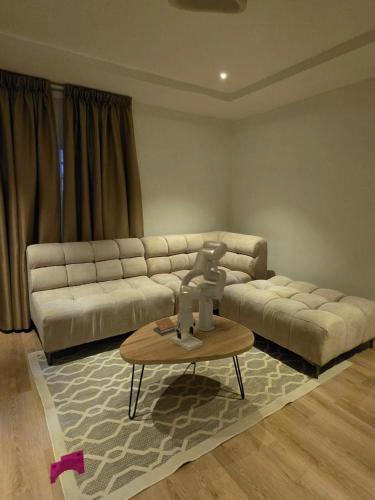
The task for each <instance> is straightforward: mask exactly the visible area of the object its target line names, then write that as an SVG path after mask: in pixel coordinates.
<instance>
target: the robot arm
mask: <svg viewBox="0 0 375 500" xmlns="http://www.w3.org/2000/svg"><path fill="white" fill-rule="evenodd" d="M227 252H228V245H227V243H226V242H224V241H223V242H222V241H212V240H206V241H204V242H203V244H202V248H199V249H198V251H197V253H196V257H195V260H194V262H193V266H192V269H190V271H189V272H188V273H186V275H185V276H184V277H183V278H182V280H181V284H180V287H179V297H178V298H179V299H178V300H179V302H178V303H179V311H178V313H177V318H176V324H174V325H175V326H174V329H175V331H174V332H175V333H177V338H179V339H181V331H183V330H185V329H188V328H189V330H188V331H189V333H188V334H189V335H191V336H193V335H194V329H195V328H196V329H197V330H199V331H201V332H211V331H213V330H215V328H216V327H215V324H216V323H218V320H217V319H214V318H213V315H214V313H213V312H214V309H213V308H214V304H213V300H221V299H222V297H223V295H224V292H225V287H226V281H227V272H226V270H225V269H223V268H218V267H219V262H220V260H221V259H222V258H223V257H224V256H225V255H226V253H227ZM200 276H203V280H204V281H207V282H201V283H200V284H199V285H198V286H197V287H196V286H192V285H189V284H190V283H191V281H192V280H193V279H195V278H196V277H200ZM209 282H211V283H209ZM215 283H216V284H215ZM196 300H198V320H197V319H195V318H194V314H193V301H196ZM197 321H198V323H197ZM195 326H196V327H195Z"/></svg>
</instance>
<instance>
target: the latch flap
mask: <svg viewBox="0 0 375 500" xmlns="http://www.w3.org/2000/svg"><path fill="white" fill-rule="evenodd" d="M154 324H155V325H156V326H157V327H158V328H159V329H160V331H161V332H162V331H165V330H168V329H171V328H174V326H175V325H176V324H175V323H173V321H172V320H171V317H165V318H163V319H158V320H156V321H155V322H154Z"/></svg>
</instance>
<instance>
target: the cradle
mask: <svg viewBox="0 0 375 500" xmlns="http://www.w3.org/2000/svg"><path fill="white" fill-rule="evenodd" d="M168 340H170V341H171V342H173V343H175V344H176V345H178V346H180V347H181V348H183V349H185V350H187V351H188V352H189V351H192V350H194V349H197V348H200V347H201V346H203V343H204V342H203V341H202V340H200V339H198V338H196V336H195V337H194V336H193V335H192V334H190V333H188V332H186V331H184V330H182V331H181V339H179V338H177V332H175V333H173V334H170V335H168Z"/></svg>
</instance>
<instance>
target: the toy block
mask: <svg viewBox="0 0 375 500" xmlns="http://www.w3.org/2000/svg"><path fill="white" fill-rule="evenodd" d="M84 456H85V455H84V449H80V450H78V451H75V452H71V453H67V454H64V455H61V456H60V461H56V462H53V463H50V468H49V469H50V470H49V472H50V473H49V474H50V475H49V476H50V477H49V479H50V480H49V481H50V485H52V484H56V481H57V479H58V478H59V477H60V476H61V474H64V471H65V472H67V471H75V472H77V474H78V475H83V474H85V473H86V472H85V471H86V470H85V469H86V468H85V457H84Z"/></svg>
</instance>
